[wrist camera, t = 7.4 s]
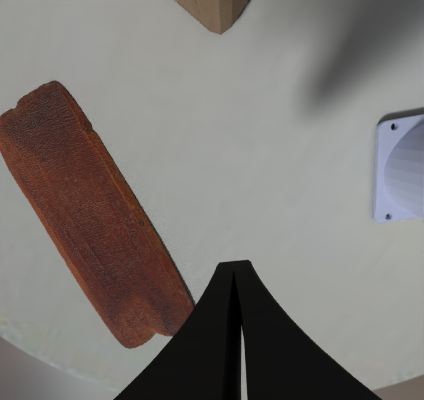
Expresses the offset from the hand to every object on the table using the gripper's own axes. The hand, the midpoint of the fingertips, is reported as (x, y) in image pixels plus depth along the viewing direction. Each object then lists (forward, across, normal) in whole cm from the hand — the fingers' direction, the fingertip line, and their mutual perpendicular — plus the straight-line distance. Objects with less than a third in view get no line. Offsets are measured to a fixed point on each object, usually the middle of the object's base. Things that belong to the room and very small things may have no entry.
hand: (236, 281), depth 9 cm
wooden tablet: (+11, +12, +2) cm, 16 cm away
